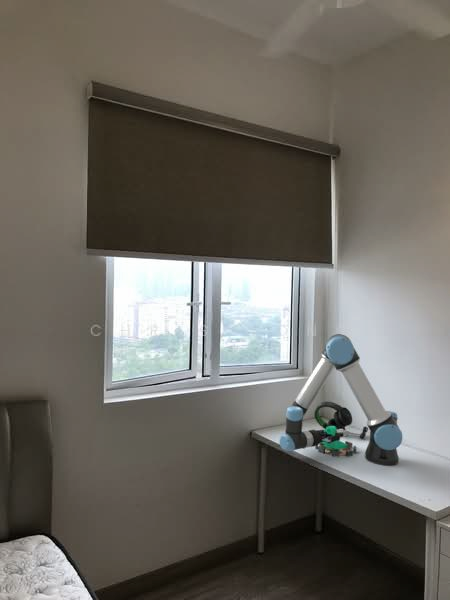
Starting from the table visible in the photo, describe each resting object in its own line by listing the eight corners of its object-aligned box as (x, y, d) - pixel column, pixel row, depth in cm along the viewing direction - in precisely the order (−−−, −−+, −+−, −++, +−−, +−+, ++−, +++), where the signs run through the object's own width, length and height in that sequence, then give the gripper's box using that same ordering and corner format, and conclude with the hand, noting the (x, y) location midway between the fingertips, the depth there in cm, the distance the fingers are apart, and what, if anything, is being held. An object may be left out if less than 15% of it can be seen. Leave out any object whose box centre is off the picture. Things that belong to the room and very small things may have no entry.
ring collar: (364, 453, 233) (364, 448, 233) (335, 459, 223) (335, 454, 223) (335, 441, 250) (335, 436, 249) (307, 446, 239) (307, 441, 239)
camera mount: (347, 450, 232) (349, 429, 232) (335, 451, 228) (337, 430, 228) (330, 442, 242) (332, 422, 242) (318, 443, 238) (320, 423, 238)
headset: (353, 453, 257) (307, 421, 265) (361, 437, 267) (316, 407, 275) (368, 435, 245) (319, 402, 253) (376, 418, 255) (329, 387, 263)
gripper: (298, 441, 233) (333, 435, 245) (319, 451, 220) (355, 444, 233) (298, 426, 232) (334, 421, 245) (320, 435, 220) (356, 429, 232)
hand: (344, 432), depth 239 cm, fingers closed on camera mount, 2 cm apart
